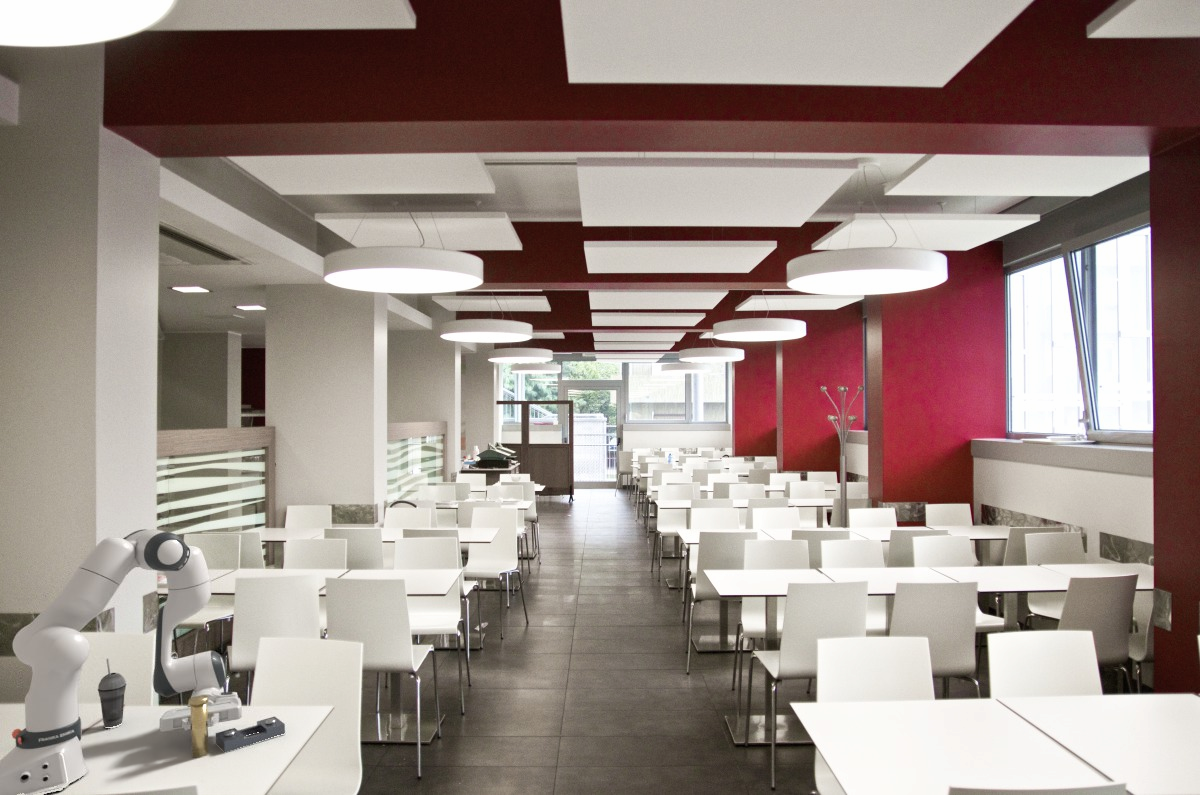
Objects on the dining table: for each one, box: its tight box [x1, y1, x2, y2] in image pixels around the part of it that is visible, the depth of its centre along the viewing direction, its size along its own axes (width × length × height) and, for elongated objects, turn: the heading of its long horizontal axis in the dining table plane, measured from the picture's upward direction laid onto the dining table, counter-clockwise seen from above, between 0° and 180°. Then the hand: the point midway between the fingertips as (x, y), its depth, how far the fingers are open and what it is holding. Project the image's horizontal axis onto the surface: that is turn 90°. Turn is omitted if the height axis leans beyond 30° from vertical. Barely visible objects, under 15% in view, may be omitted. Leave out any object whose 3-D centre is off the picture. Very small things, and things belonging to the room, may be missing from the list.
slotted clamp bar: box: [215, 716, 286, 753], centre depth 217 cm, size 16×8×4 cm, turn 132°
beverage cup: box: [97, 658, 127, 727], centre depth 231 cm, size 7×7×20 cm
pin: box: [188, 695, 210, 759], centre depth 208 cm, size 5×5×15 cm
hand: (199, 725), depth 207 cm, fingers closed on pin, 4 cm apart
